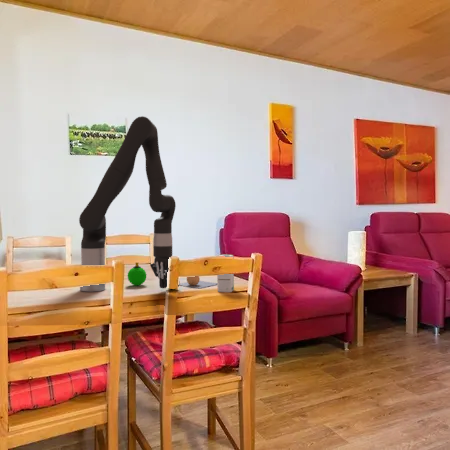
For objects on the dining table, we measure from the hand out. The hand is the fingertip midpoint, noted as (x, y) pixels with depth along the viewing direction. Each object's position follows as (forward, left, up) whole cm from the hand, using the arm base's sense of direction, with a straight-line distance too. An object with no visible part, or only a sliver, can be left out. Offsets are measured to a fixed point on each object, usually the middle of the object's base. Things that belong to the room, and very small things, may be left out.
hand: (163, 287), depth 168 cm
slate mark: (+13, +16, -2) cm, 21 cm away
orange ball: (+11, +14, +1) cm, 18 cm away
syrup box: (+25, +1, -2) cm, 25 cm away
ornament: (-13, +15, -2) cm, 20 cm away
